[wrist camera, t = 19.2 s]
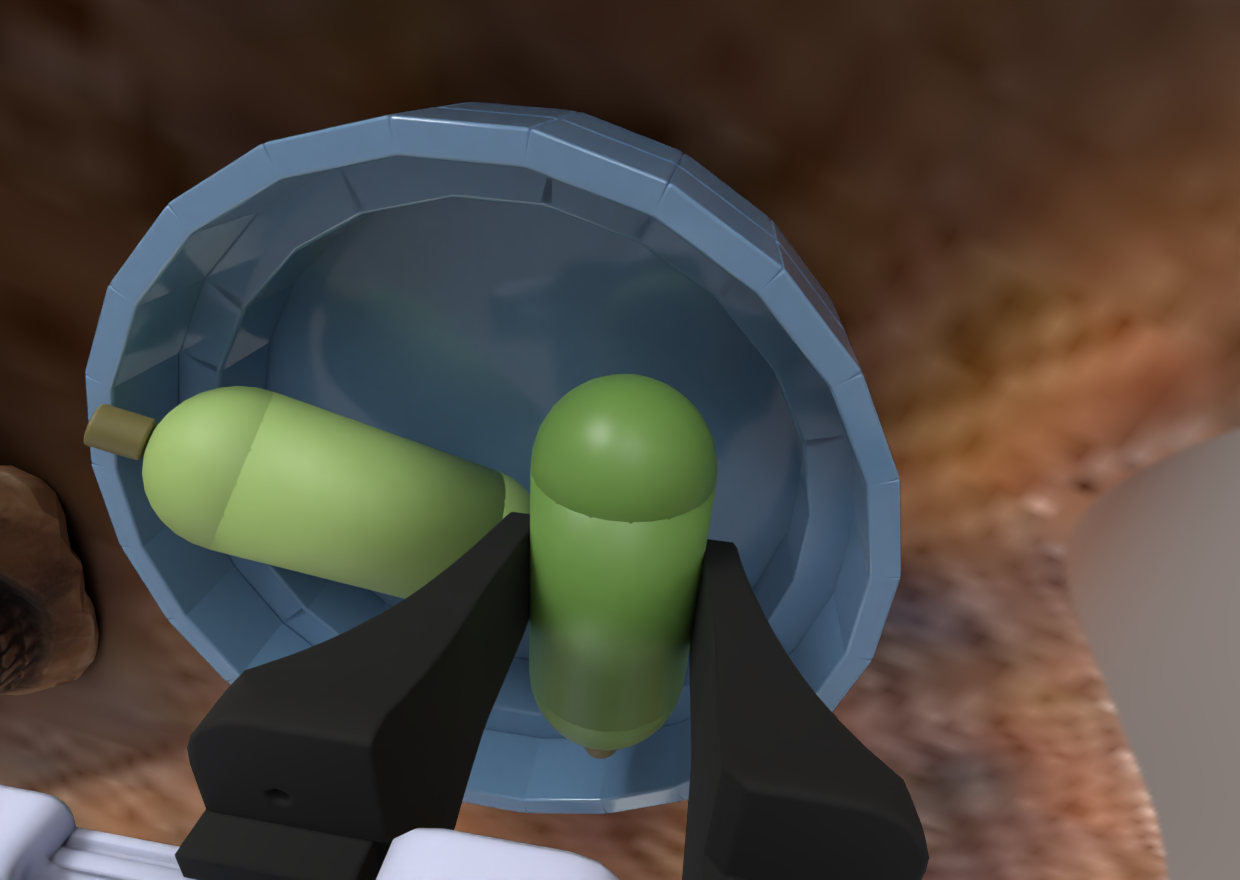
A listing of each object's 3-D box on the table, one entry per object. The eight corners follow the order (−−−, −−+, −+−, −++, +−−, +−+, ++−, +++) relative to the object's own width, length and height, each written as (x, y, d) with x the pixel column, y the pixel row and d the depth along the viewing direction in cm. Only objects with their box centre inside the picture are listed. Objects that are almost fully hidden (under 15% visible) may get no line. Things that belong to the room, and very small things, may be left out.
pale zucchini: (564, 465, 19) (577, 567, 16) (504, 549, 20) (506, 655, 18) (145, 308, 14) (64, 411, 12) (113, 432, 16) (35, 547, 13)
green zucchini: (676, 698, 19) (665, 825, 16) (547, 677, 19) (511, 798, 16) (730, 356, 14) (731, 443, 11) (555, 336, 14) (506, 414, 11)
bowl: (790, 722, 22) (802, 863, 18) (282, 640, 24) (193, 754, 20) (953, 141, 14) (1041, 173, 10) (150, 71, 15) (-49, 75, 11)
